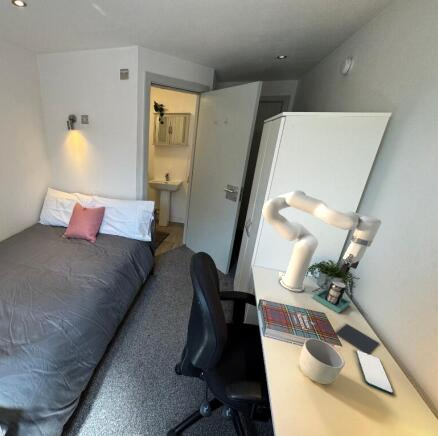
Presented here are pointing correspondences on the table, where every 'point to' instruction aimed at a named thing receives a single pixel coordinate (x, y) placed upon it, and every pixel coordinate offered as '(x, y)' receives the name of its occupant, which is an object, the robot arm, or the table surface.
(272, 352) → the table surface
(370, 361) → the smartphone
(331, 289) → the beverage can
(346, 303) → the tray
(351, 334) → the mat
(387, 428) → the table surface
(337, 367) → the planter
